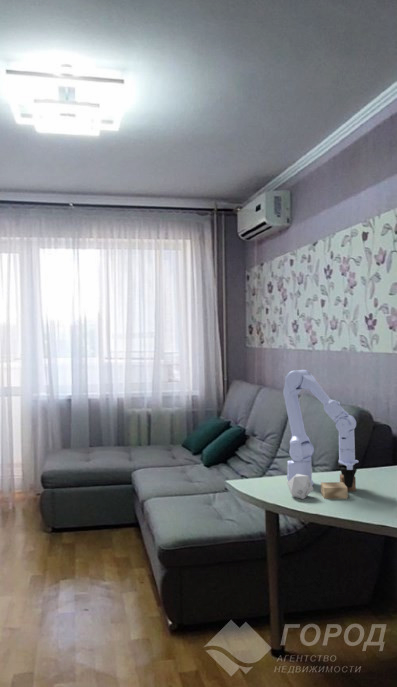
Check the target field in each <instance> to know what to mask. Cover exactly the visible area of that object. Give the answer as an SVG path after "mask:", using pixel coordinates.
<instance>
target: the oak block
mask: <svg viewBox="0 0 397 687" xmlns="http://www.w3.org/2000/svg"><path fill="white" fill-rule="evenodd" d="M320 493H321V496H322V497H323V499H330V500H331V499H333V500H335V499H337V498H338V499H339V500H340V499H348V497H349V496H348V495H349V494H348V493H349V491H348V490H347V487H346V485H345V484H344V483H343V482H340V481H339V482H335V481H333V482H331V481H330V482H324V481H323V482H320Z"/></svg>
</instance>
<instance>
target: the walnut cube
mask: <svg viewBox="0 0 397 687" xmlns="http://www.w3.org/2000/svg"><path fill="white" fill-rule="evenodd" d="M339 482H343V483H344V484H345V481H344V476H343V474H342V473H340V474H339ZM356 485H357V484H356V475H354V479H353V484H352V488H347V490H348V492H356V491H357V486H356Z"/></svg>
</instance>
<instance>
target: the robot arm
mask: <svg viewBox="0 0 397 687" xmlns="http://www.w3.org/2000/svg"><path fill="white" fill-rule="evenodd" d="M284 379H285V382H284V387H283V392H282V393H283V398H284V403H285V408H286V414H287V418H288V419H287V420H288V423H289V429H290V434H291V438H290V440H289V451H288V452H289V456H290V458H291V460H287V474H286V480H287V482H288V481H290V480H291V479H292V478H293V477H294V476H295V475H296V474H301V475H306V476H309V479H310V481H311V484H312V486H314V484H315V483H314V481H313V478H312V475H313V474H312V472H313V471H312V467H313V466H312V456H313V455H314V452H315V449H314V448H315V447H314V445H313V444H312V442H311V440H310V437H309V436H308V435H307V434H306V428H305V425H304V419H303V414H302V409H301V405H300V400H299V394H300V393H301V391H302V390H303V389H304V390H308V391H310V392H311V393H312V395H313V396H315V398H316V399H318V401H319V402H321V403H322V404H323V411H324V412H325V413H326V415H328V416H329V418H330V419H331V420H332V421H333V423H335V429H336V430H337V431H338V464H337V465H338V467H339V469H340V472H341V473H340V474H343V476H344V481H345V485H346V487H347V488H352V484H353V479H354V476H356V473H357V470H358V469H357V468H354V467H355V464H358V463H359V460H358V459H356V448H355V446H356V445H355V439H356V437H355V428H357V420H356V419H355V417H354V416H353V415H350V413H349V412H347V411H346V410H345V409H344V408H343V407H342V406H341V402H340V401H339V400H338V401H337V400H335V399H331V398H330V396H329V395H328V394H327V392H325V390H324V389H323V387H322V386H321V384H320V383H318V381H317V379H316V377H315V376H314V375H313V374H311V372H310V371H309V370H308V369H298V370H297V369H296V370H291V371H289V372H288V373H287V375H286V376H285V377H284Z"/></svg>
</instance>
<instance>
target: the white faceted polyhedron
mask: <svg viewBox="0 0 397 687" xmlns="http://www.w3.org/2000/svg"><path fill="white" fill-rule="evenodd" d="M286 483H287V487H288V489H289V492H290V494H291V497H293V498H297V499H301V500H304V499H305V498H307V497H308V496H309V494H311V493H312V492H313V491H314V487H313V486H314V485H312V484H311V481H310V479H309V476H306V475H301V474H296V475H295V476H294V477H293V478H292V479H291V480H290V481H288V480H287V482H286Z"/></svg>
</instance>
